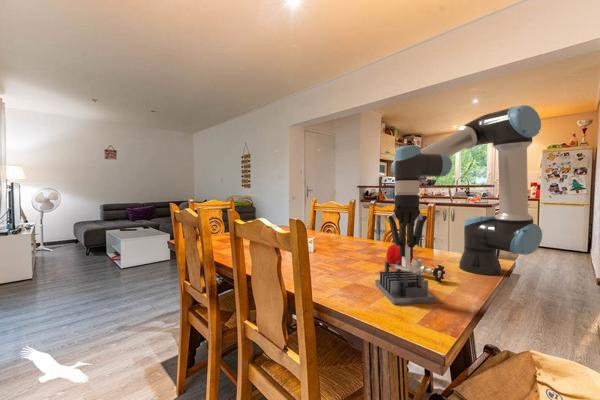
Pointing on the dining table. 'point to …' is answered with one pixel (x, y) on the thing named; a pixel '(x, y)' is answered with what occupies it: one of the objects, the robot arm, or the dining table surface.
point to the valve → (428, 270)
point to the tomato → (394, 254)
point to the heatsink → (404, 286)
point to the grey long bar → (409, 267)
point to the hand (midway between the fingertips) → (405, 266)
